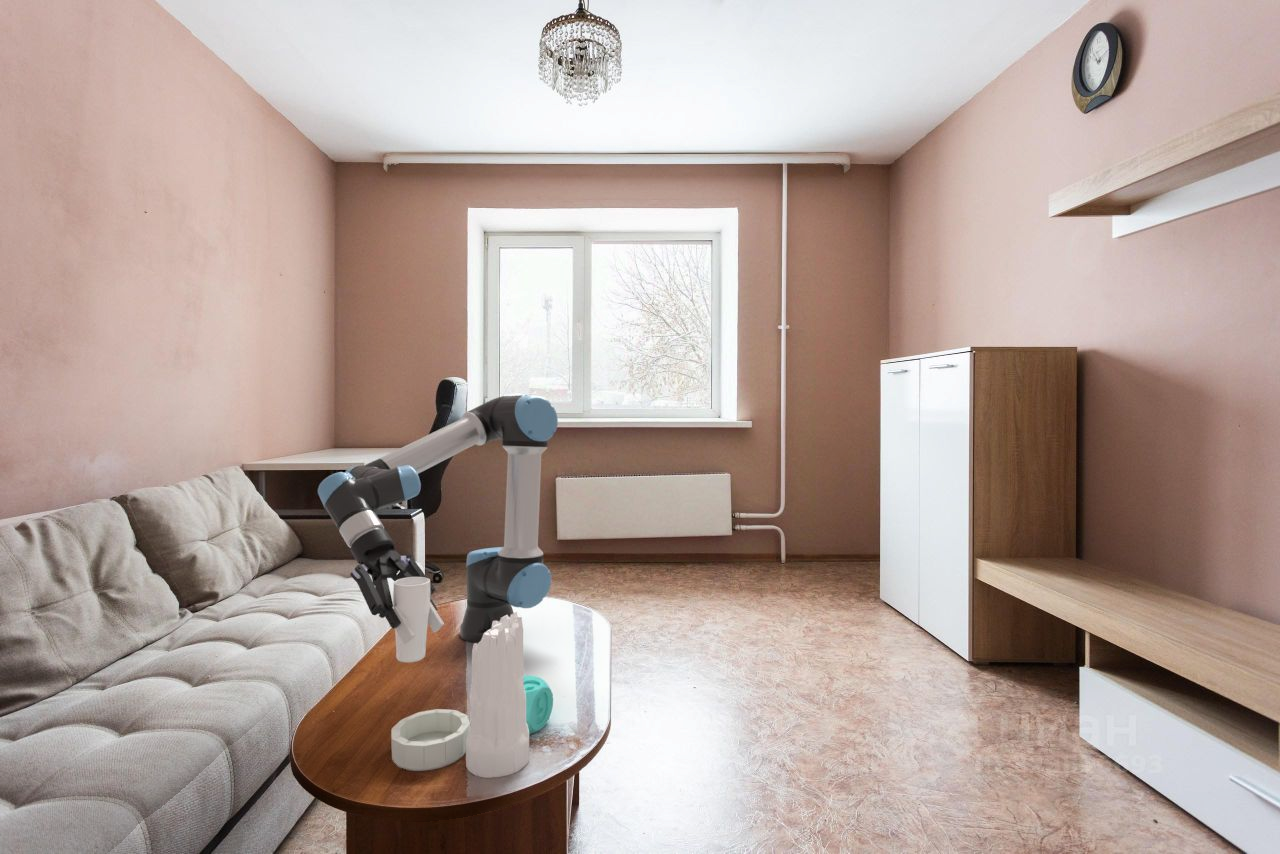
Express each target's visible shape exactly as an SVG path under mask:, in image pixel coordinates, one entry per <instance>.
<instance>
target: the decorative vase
mask: <svg viewBox="0 0 1280 854" xmlns="http://www.w3.org/2000/svg"><path fill="white" fill-rule="evenodd" d="M523 625H524V624H523V619H522V617H521V616H519V615H518V612H517V611H514V613H513V614H511V615H510V617H508V615H506V616H504V617H502V618H501V619H500V621H499V622H498V621H493V622H492V628H491V629H489V630H488V631H486V633H484V634H483V637H482V640H481V641H480V642H473V645H472V651H471V683H470V689H469V690H470V691H469V692H470V693H469V697H470V698H469V701H470V703H469V705H470V706H469V709H470V710H469V715H470V717H469V718H470V719H469V722H470V731H469V732H468V735H467V738H466V754H465V763H466V764H465V767H466V769H467V770H468V771H469V772H470V773H471V774H473V775H474V776H475V777H477V776H478V777H479V778H483V779H494V778H495V779H497V778H503V777H506V776H511V775H513V774H516V773H518V772H519V771H521V770H522V769H523V768H525V767H526V766H527V765H528V763H529V762H530V734H529V729H528V725H527V723H526V693H525V689H524V684H523V676H524V626H523Z"/></svg>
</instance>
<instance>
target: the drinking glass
mask: <svg viewBox="0 0 1280 854" xmlns="http://www.w3.org/2000/svg"><path fill="white" fill-rule="evenodd" d="M430 582H431V579H430V578H429V577H427V578H425V577H407V578H401V579H398V580H396V581H393V591H392V592H393V593H392V602H393V609H394V607H397V606H398V607H399V609H400V610H401V612H402V614H403V615H404V617H405V619H406V620H407V622H408V624H409V625H410V627H411V629H412V630H413V632H414V634H415V636H414V637H413V638H412V639H411V640H410V641H409V642H408V643H407V644H404V643H403V641H402V639H401V638H400V636H399V634H398V633H397V631H396V629H395V628H394V634H395V648H396V649H395V650H396V651H395V657H396V659H397V661H398V662H400V663H401V662H402V663H414V662H418V661H421V660H423V659H424V658H425V656H426V653H427V652H426V651H427V650H426V649H427V648H426V647H427V638H428V637H427V636H428V626H429V624H428V619H429V609H430V597H431V596H432V595H431V589H430ZM430 595H431V596H430Z"/></svg>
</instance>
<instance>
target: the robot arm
mask: <svg viewBox="0 0 1280 854" xmlns="http://www.w3.org/2000/svg"><path fill="white" fill-rule="evenodd" d="M558 422H559V421H558V414H557V411H556V408H555V407H554V406H553V404H551V402H550V401H549V400H548V399H547V398H546V397H544V396H540V395H534V394H533V395H532V394H522V395H521V394H520V395H501V396H498V397H496V398H493V399H490V400H489V401H485V402H484V403H482V404H481V405H479V406H476V407H474V408H472V409H469V410H468V411H466V412H464V413H463V414H462V415H461V419H458V420H456V421H454V422H452V423H449V424H448V425H446V426H444V427H441V428H439V429H437V430H436V431H433V432H431V433H429V434H427V435H425V436H423V437H421V438H419V439H416V440H415V441H413V442H411V443H410V442H409V444H407V445H403V446H402V447H400V448H398V449H395V450H394V451H392V452H390V453H387V454H386V455H383V456H381V457H380V458H377V459H375V460H373V461H370V462H369V463H366V464H365V465H354V466H351V467H349V468H347V469H346V470H345V472H343V471H339V472H335V473H331V475H328V476H327V477H325V478H324V479H323V480H322V481H321V482H320V483H319V485H318V488H317V494H318V496H319V499H320V501H321V503H322V506H323V508H324V510H326V512H327V513H328V515H329V516H330V518H331V520H332V521H333V523H334V524H335V526H336V528H337V529H338V531H339V534H340V535H341V537H342V538H343V541H344V543H346V545H347V547H349V548H350V552H351V554H352V556H353V558H354V560H355V561H356V562H357V563H356V564H357V565H356V566H355V567H354V568H353V570H352V571H351V572H350V573H349V574H350V577H351V578H352V579H353V580H354V581H355V582H356V583H357V586H358V587H359V590H360V592H361V593H362V596H363V599H364V601H365V603H366V605H367V607H368V609H369V611H370V613H371V614H372V616H377V615H378V616H379V618H381V619H384V618H385V619H386V621H387V623H388V625H389V626H390V627H391V628H392V629H393V630H395V629H396V631H397V633H398V634H399V636H400V638H401V639H402V641H403V643H404V644H407V643H408V642H409V641H410V640H411V639H412V638H413V637H414V636H415V634H414V632H413V630H412V629H411V627H410V625H409V624H408V622H407V620H406V619H405V617H404V615H403V614H402V612H401V610H400V609H399V607H398V606H397V607H394V609H393V597H392V594H391V589H390V585H389V581H388V579H392V581H393V582H395V581H396V580H398V579H401V578H407V577H425V578H428V577H427V576H426V574H425V573H424V571H423V570H422V569H421V567H420V566H419V564H418V563H417V561H416V559H415V556H414V554H413V553H412V552H409V553H408V554H407V555H401V554H400V553H398V551H396V550H395V545H394V540H393V539H392V538H391V536H390V535H389V532H388V531H387V530H386V529H385V526H384V525H383V523H382V521H381V520H380V518H379V516H378V515H377V514H376V511H379V510H382V509H384V508H388V507H391V506H394V505H397V504H400V503H403V502H407V501H408V500H411V499H412V498H414V497H417V496H418V495H419V494H420V491H421V488H422V487H421V486H422V483H421V480H420V477H419V474H420V473H422V472H425V471H426V470H428V469H430V468H432V467H434V466H437V465H438V464H440V463H441V462H444V461H445V460H448V459H450V458H452V457H453V456H456V455H457V454H460V453H462V452H463V451H465V450H467V449H468V448H469V449H470V448H471V447H473V446H475V445H476V446H482V445H485V444H487V443H489V442H492V441H493V442H494V441H498V440H499V441H500V440H501V441H502V443H501V445H502V448H503V449H504V450H505V451H506V453H507V465H506V466H507V468H506V492H505V512H504V513H505V515H504V516H505V517H504V518H505V519H504V537H503V542H504V543H503V546H500V547H499V546H497V547H495V546H494V547H488V548H487V547H486V548H482V549H477V550H473V551H469V553H467V556H466V564H465V568H466V608H465V611H464V616H463V618H462V623H461V625H460V627H459V629H460V630H459V632H460V634H459V635H460V638H461V639H462V640H465V641H467V642H471V643H479V642H480V641H481V640H482V637H483V634H484V633H486V631H488V630H489V629H491V628H492V622H493V621H498V622H499V621H500V619H501V618H502V617H504V616H506V615H508V617H510V615H511V614H513V613H515V611H514V609H513V607H514V608H521V609H531V608H535V607H536V606H537V605H540V603H541V602H542V601H543V600H544V598H546V597H547V595H548V594H549V591H550V589H551V586H552V573H551V570H550V569H549V568H548V567H547V565H545V564H544V552H543V550H542V549H540V547H539V546H538V545H539V525H540V520H539V519H540V503H541V502H540V500H541V498H540V497H541V477H542V476H541V472H542V454H543V453H544V452H545V451H546V450H547V449H548V445H549V440H550V439H551V438H552V437H553V436H554V434H555V433H556V431H557V429H558ZM430 589H431V595H430V609H429V619H428V626H429V627H430V629H431V631H433V634H434V633H438V631H439V630H440V629H441V628H442V627H443V626H444V625H445V623H444V621H443V619H442V618H441V616H440V614H439V613H438V608H437V606H436V605H435V603H434V601H433V599H432V598H431V596H432V595H433V594H434V592H436V588H435V586H434V585H433V584H432V583H431V581H430Z"/></svg>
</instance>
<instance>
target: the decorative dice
mask: <svg viewBox="0 0 1280 854" xmlns="http://www.w3.org/2000/svg"><path fill="white" fill-rule="evenodd" d="M523 684H524V689H525V693H526V723H527V725H528V729H529V735H531V734H534V733H537V732H539V731H540V730H542V729H543V728H545V726H546V725H547V723H548V721H549V720H550V717H551V715H552V711H553V707H554V696H553V692H552V690H551V688H550V686H549V684H548V683H547V682H546V681H545V680H544V679H543V678H542V677H539V676H537V675H523Z"/></svg>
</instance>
